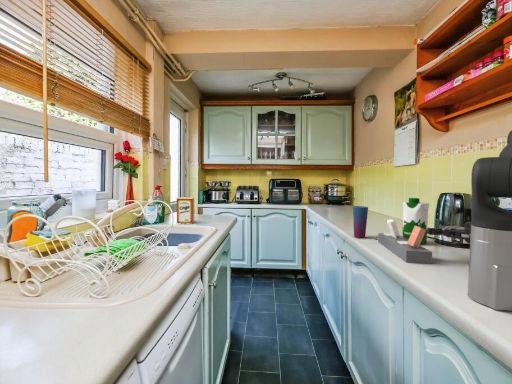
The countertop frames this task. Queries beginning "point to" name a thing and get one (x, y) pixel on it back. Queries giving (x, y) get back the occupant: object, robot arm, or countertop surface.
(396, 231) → the rocker offwhite
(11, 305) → the countertop surface
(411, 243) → the rocker terracotta
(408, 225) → the milk carton
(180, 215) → the baking soda box
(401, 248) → the power strip
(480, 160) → the robot arm
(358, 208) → the cup
